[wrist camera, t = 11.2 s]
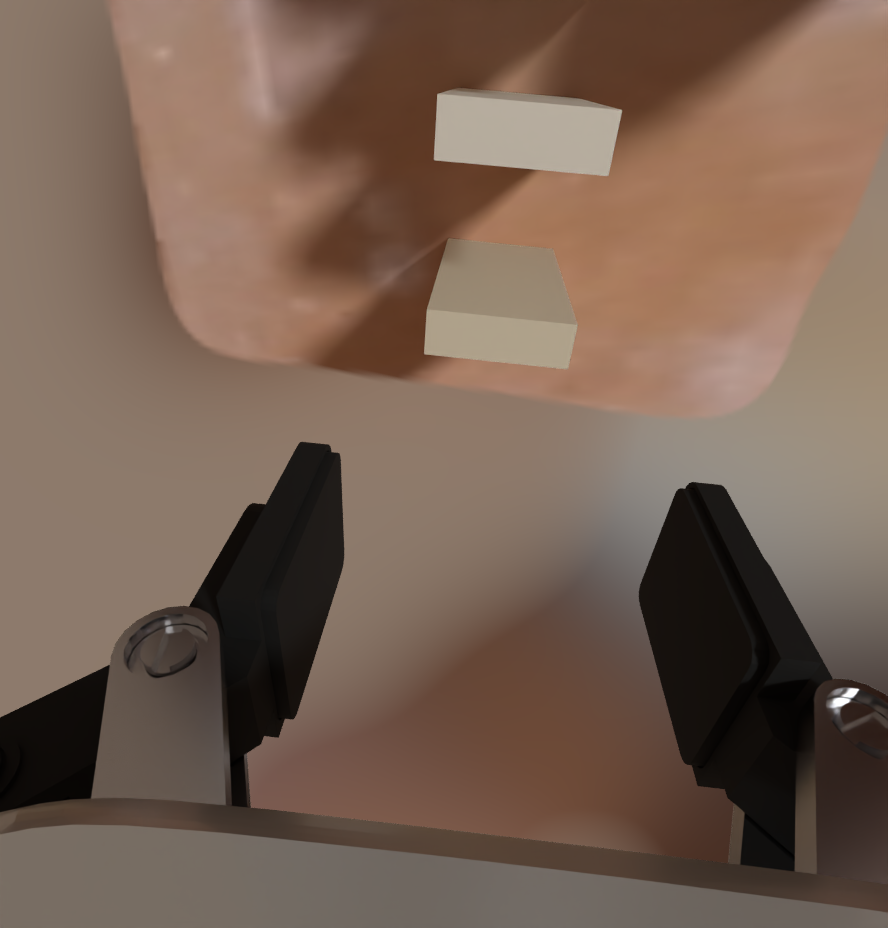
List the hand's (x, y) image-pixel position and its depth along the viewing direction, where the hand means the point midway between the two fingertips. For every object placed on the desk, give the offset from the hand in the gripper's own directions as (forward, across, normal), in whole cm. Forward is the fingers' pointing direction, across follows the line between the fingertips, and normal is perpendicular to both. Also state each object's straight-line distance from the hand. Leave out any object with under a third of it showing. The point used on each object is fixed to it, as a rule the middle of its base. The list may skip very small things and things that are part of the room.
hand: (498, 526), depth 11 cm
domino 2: (+20, 0, 0) cm, 20 cm away
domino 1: (+20, 0, -6) cm, 21 cm away
